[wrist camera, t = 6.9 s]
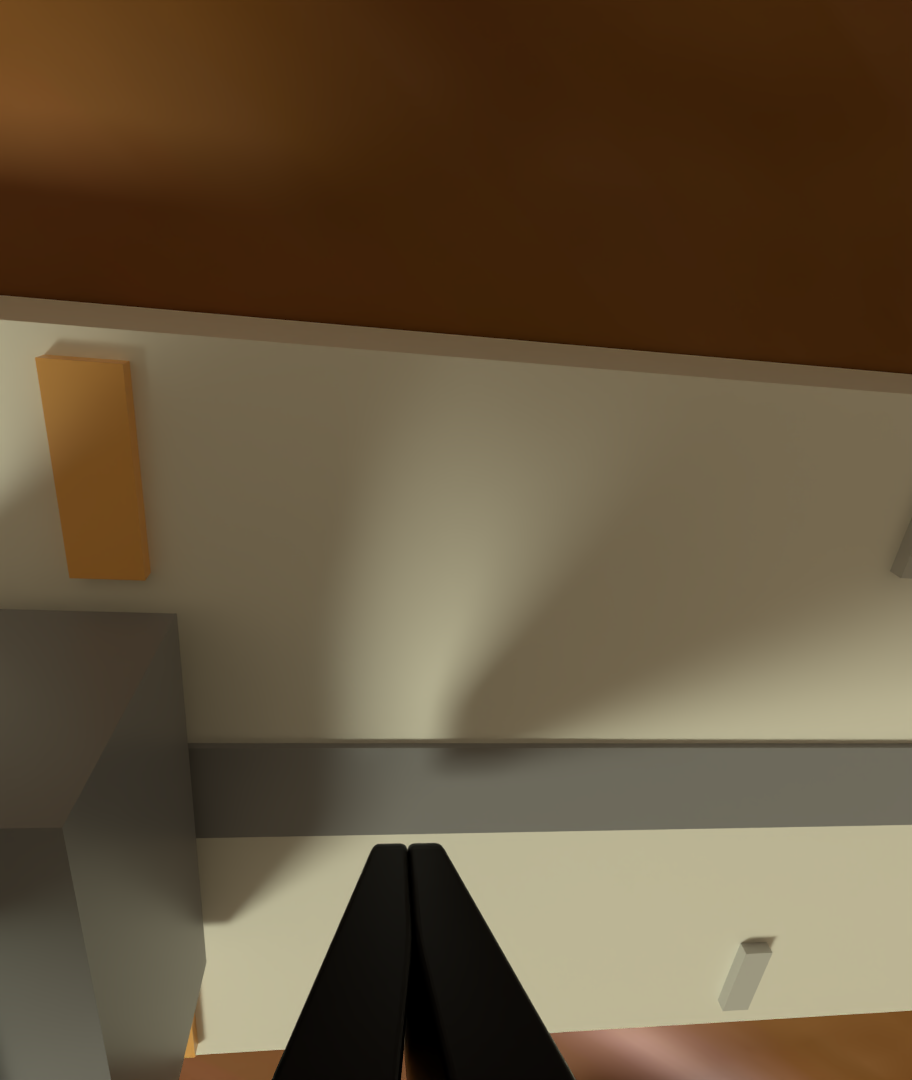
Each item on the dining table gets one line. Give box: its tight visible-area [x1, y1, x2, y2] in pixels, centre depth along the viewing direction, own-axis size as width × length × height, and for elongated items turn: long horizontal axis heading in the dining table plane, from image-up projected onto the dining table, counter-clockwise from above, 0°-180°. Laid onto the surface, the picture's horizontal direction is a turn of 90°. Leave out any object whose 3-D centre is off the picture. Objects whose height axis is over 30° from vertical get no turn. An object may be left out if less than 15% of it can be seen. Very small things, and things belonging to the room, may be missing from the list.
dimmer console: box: [0, 295, 912, 1058], centre depth 10 cm, size 22×12×2 cm, turn 85°
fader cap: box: [0, 609, 206, 1080], centre depth 7 cm, size 3×6×4 cm, turn 175°
